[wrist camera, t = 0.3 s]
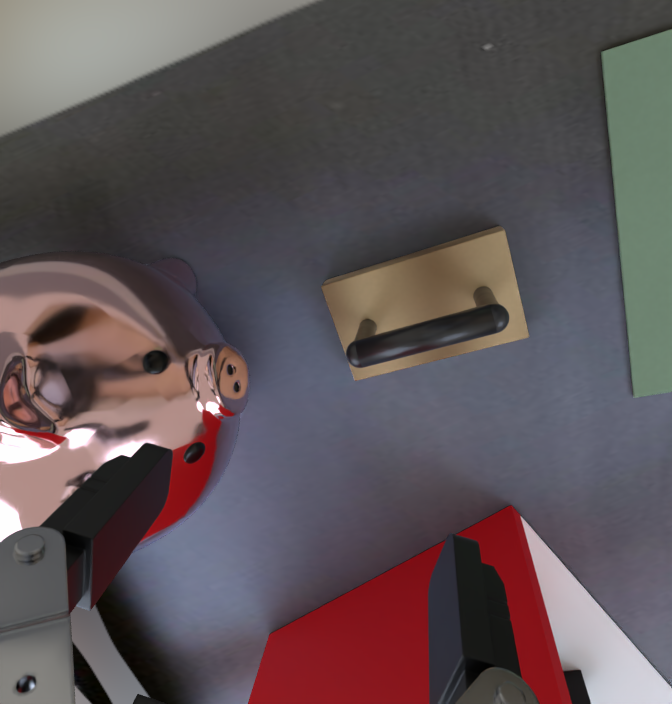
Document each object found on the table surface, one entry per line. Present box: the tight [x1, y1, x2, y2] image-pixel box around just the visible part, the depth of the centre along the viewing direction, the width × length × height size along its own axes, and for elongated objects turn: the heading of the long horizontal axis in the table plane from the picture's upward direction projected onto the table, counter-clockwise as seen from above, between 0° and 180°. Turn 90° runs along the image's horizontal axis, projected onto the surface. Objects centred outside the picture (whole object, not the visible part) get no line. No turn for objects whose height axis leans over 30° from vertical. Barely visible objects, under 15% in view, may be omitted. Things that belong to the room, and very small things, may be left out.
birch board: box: [321, 226, 529, 381], centre depth 26 cm, size 10×6×6 cm, turn 109°
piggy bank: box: [0, 251, 250, 553], centre depth 25 cm, size 15×18×16 cm
